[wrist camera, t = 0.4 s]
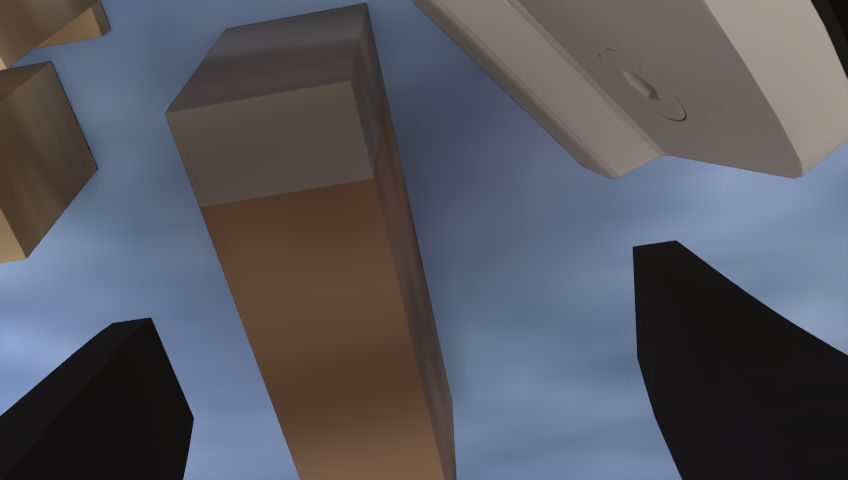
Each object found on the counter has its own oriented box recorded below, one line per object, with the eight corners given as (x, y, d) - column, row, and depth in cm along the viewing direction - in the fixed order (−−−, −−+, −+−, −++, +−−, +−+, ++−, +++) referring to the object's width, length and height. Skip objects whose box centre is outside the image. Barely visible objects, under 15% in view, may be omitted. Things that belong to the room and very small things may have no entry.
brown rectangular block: (451, 402, 26) (460, 546, 21) (346, 417, 26) (331, 563, 21) (366, 2, 19) (350, 80, 14) (226, 28, 19) (164, 113, 15)
